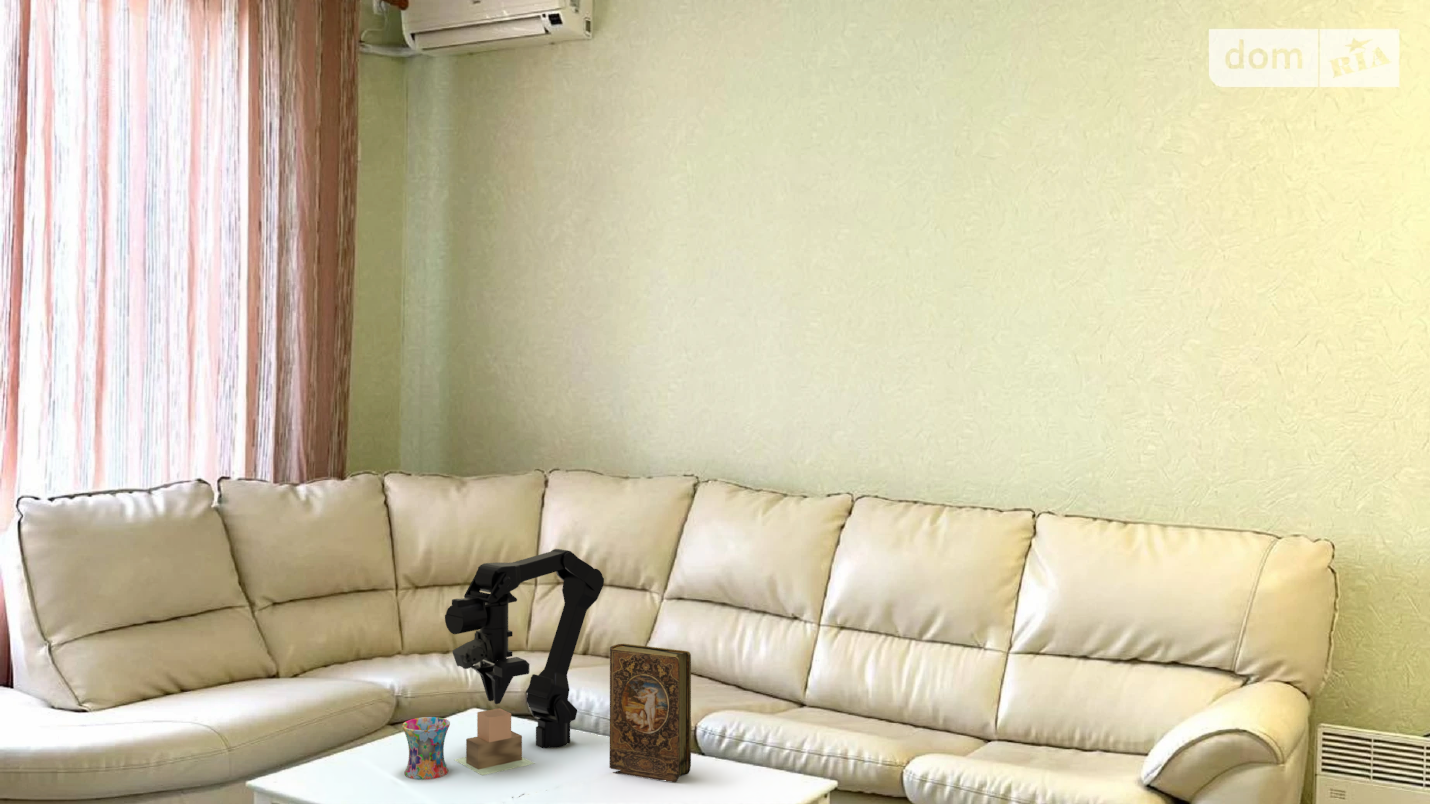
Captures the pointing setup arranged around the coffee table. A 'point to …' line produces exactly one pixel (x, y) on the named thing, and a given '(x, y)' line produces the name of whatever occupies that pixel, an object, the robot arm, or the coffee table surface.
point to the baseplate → (497, 767)
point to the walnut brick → (493, 751)
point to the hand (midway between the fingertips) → (494, 702)
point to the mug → (426, 747)
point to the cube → (494, 725)
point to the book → (650, 711)
